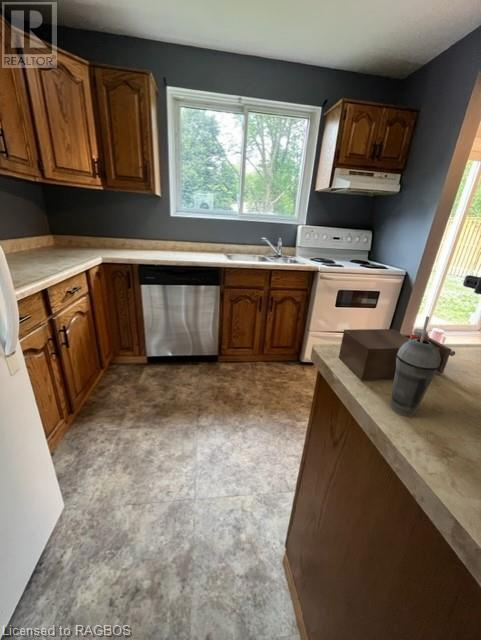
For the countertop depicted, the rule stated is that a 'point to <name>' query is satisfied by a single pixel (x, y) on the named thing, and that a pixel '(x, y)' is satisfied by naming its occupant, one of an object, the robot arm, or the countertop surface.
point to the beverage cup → (413, 374)
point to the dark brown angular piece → (442, 350)
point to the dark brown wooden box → (371, 352)
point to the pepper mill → (418, 334)
